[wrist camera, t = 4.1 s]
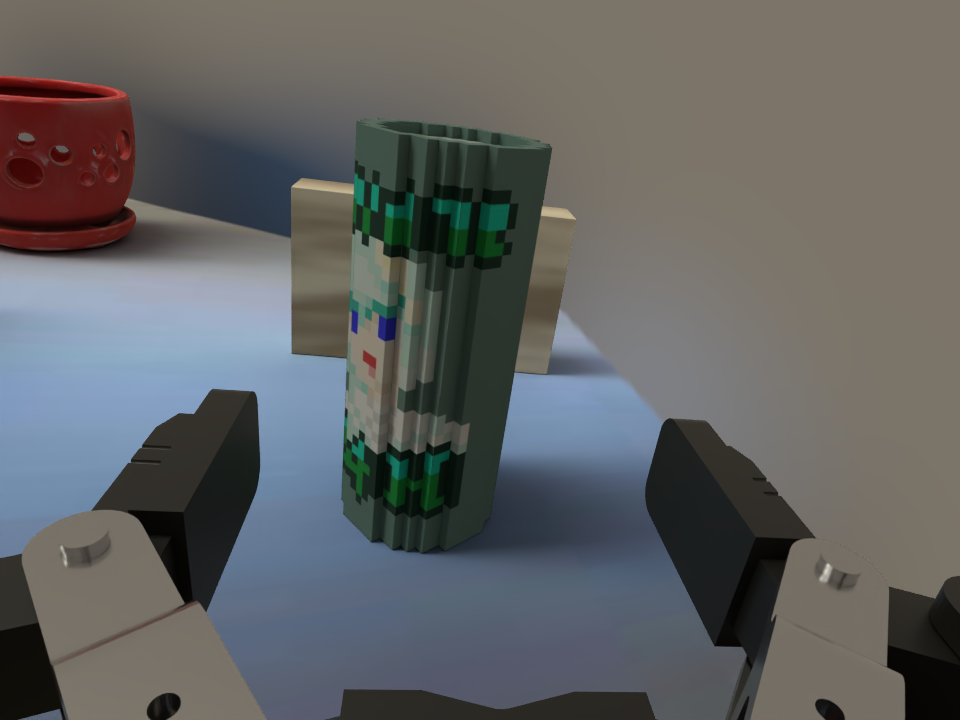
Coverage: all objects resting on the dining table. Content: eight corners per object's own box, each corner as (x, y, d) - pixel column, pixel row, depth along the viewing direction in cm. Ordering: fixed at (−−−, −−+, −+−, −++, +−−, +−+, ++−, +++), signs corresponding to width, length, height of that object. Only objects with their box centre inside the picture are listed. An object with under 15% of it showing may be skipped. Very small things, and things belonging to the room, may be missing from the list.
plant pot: (-20, 216, 54) (-51, 67, 49) (148, 221, 60) (135, 87, 55) (-70, 261, 44) (-117, 77, 39) (140, 262, 49) (122, 100, 44)
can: (317, 487, 26) (325, 114, 20) (428, 446, 30) (463, 124, 24) (402, 573, 23) (444, 146, 16) (516, 512, 27) (585, 150, 20)
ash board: (546, 374, 40) (576, 219, 35) (291, 352, 38) (291, 187, 34) (539, 354, 42) (566, 208, 38) (301, 333, 40) (301, 178, 36)
